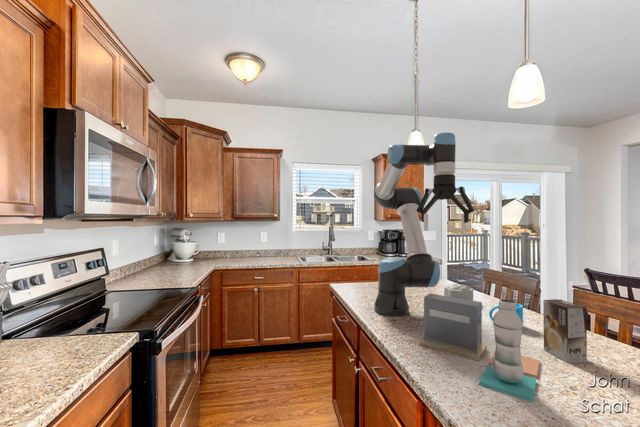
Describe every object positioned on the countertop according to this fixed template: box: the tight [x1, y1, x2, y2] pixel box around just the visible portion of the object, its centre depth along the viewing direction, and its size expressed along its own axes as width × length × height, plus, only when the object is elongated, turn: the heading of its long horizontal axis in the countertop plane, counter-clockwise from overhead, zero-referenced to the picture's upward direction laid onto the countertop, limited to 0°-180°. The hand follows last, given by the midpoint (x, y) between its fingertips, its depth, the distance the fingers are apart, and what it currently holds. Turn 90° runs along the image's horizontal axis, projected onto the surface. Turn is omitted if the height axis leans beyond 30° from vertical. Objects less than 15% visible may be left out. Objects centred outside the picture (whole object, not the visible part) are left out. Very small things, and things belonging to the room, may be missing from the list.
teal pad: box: [478, 364, 537, 403], centre depth 76 cm, size 11×11×1 cm
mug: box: [488, 302, 524, 324], centre depth 118 cm, size 12×8×8 cm
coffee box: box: [542, 298, 588, 364], centre depth 91 cm, size 9×6×16 cm
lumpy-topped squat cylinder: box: [443, 283, 474, 301], centre depth 148 cm, size 10×13×9 cm
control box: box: [418, 293, 488, 362], centre depth 97 cm, size 18×10×16 cm, turn 51°
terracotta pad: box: [488, 351, 541, 380], centre depth 86 cm, size 11×11×1 cm
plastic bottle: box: [492, 298, 524, 384], centre depth 76 cm, size 6×7×20 cm
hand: (444, 231), depth 112 cm, fingers open, 13 cm apart
